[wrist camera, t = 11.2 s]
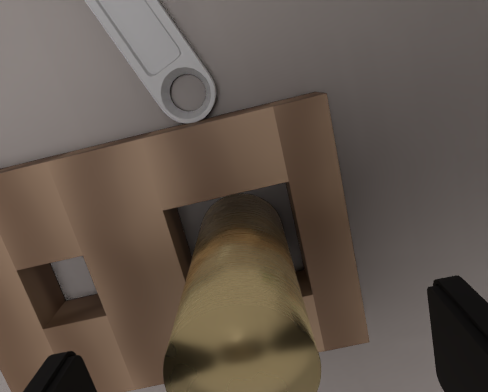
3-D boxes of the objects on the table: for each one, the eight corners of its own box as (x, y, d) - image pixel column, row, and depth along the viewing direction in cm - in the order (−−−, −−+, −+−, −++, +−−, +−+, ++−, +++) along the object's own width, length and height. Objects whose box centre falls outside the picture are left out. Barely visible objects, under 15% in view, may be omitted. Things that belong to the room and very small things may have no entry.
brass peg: (272, 185, 19) (305, 289, 10) (289, 260, 20) (333, 420, 11) (191, 204, 19) (142, 324, 10) (212, 277, 21) (187, 448, 11)
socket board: (315, 91, 18) (326, 93, 16) (355, 312, 21) (369, 341, 19) (-46, 180, 19) (-88, 194, 17) (45, 376, 22) (21, 412, 20)
